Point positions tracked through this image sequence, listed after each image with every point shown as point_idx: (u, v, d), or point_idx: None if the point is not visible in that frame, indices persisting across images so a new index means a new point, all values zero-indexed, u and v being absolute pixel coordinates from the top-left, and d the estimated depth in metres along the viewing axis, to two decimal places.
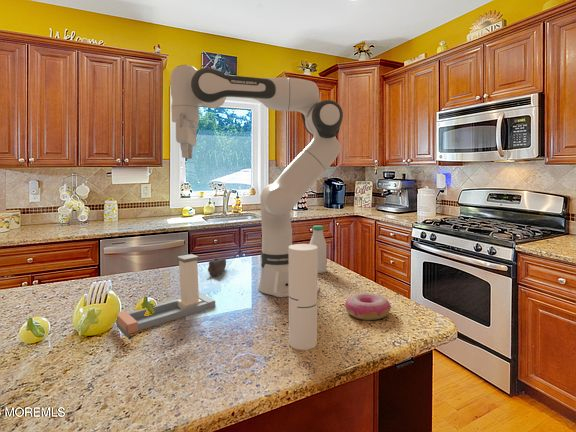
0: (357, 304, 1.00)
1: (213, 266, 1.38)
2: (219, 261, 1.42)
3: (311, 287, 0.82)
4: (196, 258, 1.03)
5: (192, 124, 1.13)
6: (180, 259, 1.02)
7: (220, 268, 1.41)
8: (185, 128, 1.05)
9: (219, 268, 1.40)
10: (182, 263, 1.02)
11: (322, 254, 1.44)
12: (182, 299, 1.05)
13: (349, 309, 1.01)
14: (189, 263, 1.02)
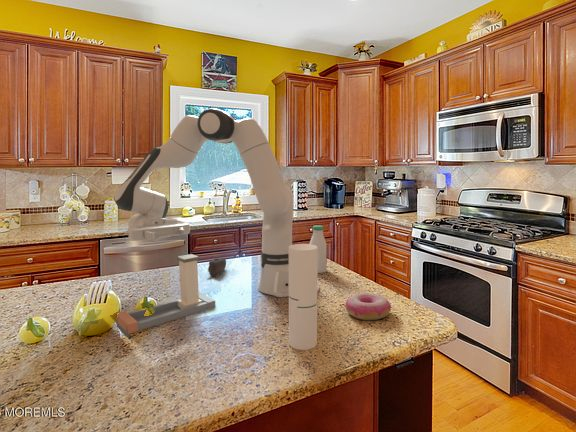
0: (357, 304, 1.00)
1: (213, 266, 1.38)
2: (219, 261, 1.42)
3: (311, 287, 0.82)
4: (196, 258, 1.03)
5: (150, 223, 1.18)
6: (180, 259, 1.02)
7: (220, 268, 1.41)
8: (129, 230, 1.11)
9: (219, 268, 1.40)
10: (182, 263, 1.02)
11: (322, 254, 1.44)
12: (182, 299, 1.05)
13: (349, 309, 1.01)
14: (189, 263, 1.02)
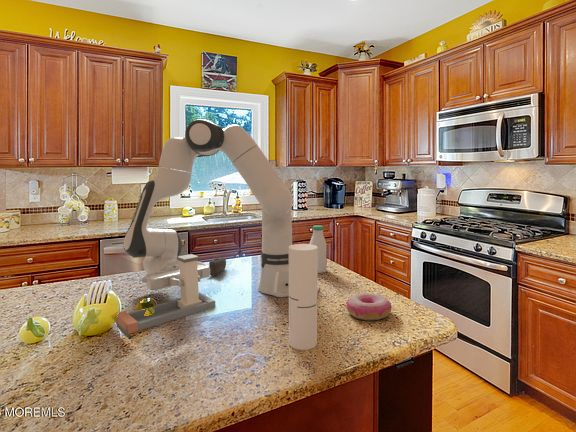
0: (358, 305, 1.00)
1: (213, 266, 1.38)
2: (219, 261, 1.42)
3: (311, 287, 0.82)
4: (196, 258, 1.03)
5: (168, 267, 1.10)
6: (180, 259, 1.02)
7: (220, 268, 1.41)
8: (146, 278, 1.04)
9: (219, 268, 1.40)
10: (182, 263, 1.02)
11: (322, 254, 1.44)
12: (182, 299, 1.05)
13: (350, 309, 1.01)
14: (189, 263, 1.02)
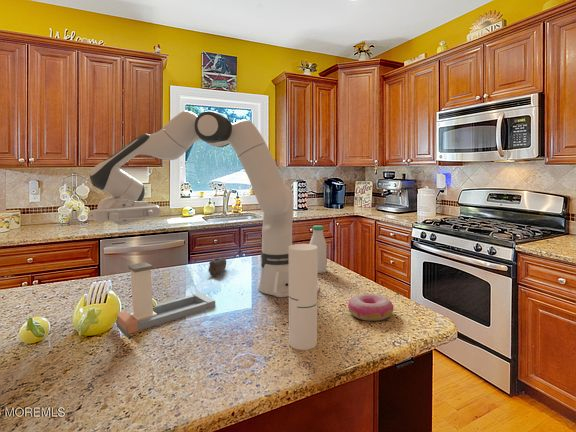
0: (360, 305, 0.99)
1: (214, 266, 1.39)
2: (220, 261, 1.42)
3: (311, 287, 0.82)
4: (149, 267, 0.93)
5: (117, 205, 1.12)
6: (131, 268, 0.92)
7: (221, 268, 1.42)
8: None
9: (219, 268, 1.40)
10: (133, 273, 0.93)
11: (322, 254, 1.44)
12: (134, 312, 0.95)
13: (352, 310, 1.00)
14: (141, 273, 0.92)
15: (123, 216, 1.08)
